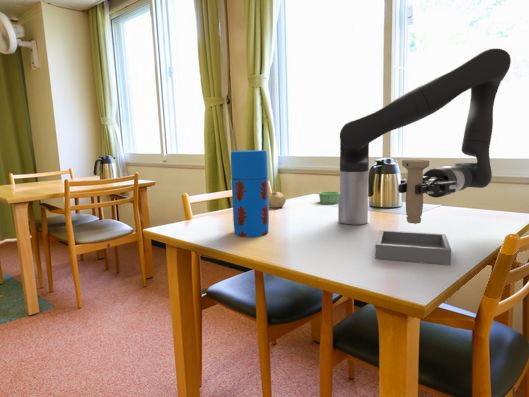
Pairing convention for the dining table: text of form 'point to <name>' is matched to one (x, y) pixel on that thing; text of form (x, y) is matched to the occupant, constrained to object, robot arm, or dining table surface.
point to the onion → (276, 200)
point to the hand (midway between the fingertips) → (408, 189)
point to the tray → (413, 247)
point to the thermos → (250, 193)
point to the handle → (414, 178)
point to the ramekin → (329, 197)
